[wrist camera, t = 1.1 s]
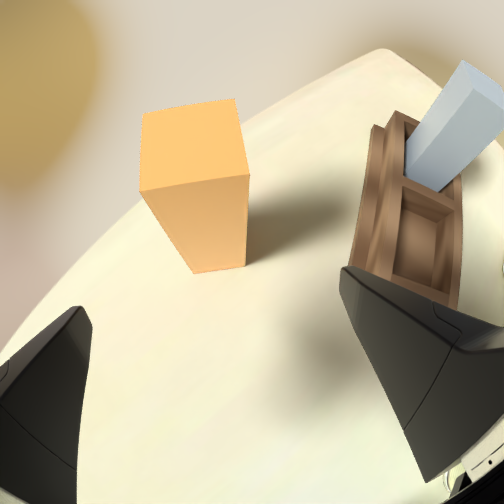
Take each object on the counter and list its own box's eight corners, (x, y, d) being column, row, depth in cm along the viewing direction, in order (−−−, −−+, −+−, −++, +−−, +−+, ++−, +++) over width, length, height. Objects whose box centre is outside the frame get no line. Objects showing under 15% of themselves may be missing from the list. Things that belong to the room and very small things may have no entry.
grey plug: (431, 198, 24) (514, 118, 12) (397, 182, 24) (473, 88, 12) (430, 166, 25) (500, 86, 13) (398, 151, 25) (462, 59, 13)
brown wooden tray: (438, 319, 22) (466, 313, 18) (342, 288, 22) (361, 277, 18) (446, 165, 27) (464, 146, 23) (371, 129, 27) (384, 105, 24)
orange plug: (245, 266, 23) (250, 173, 10) (193, 273, 22) (139, 191, 10) (237, 218, 24) (234, 98, 11) (188, 225, 23) (142, 113, 11)
